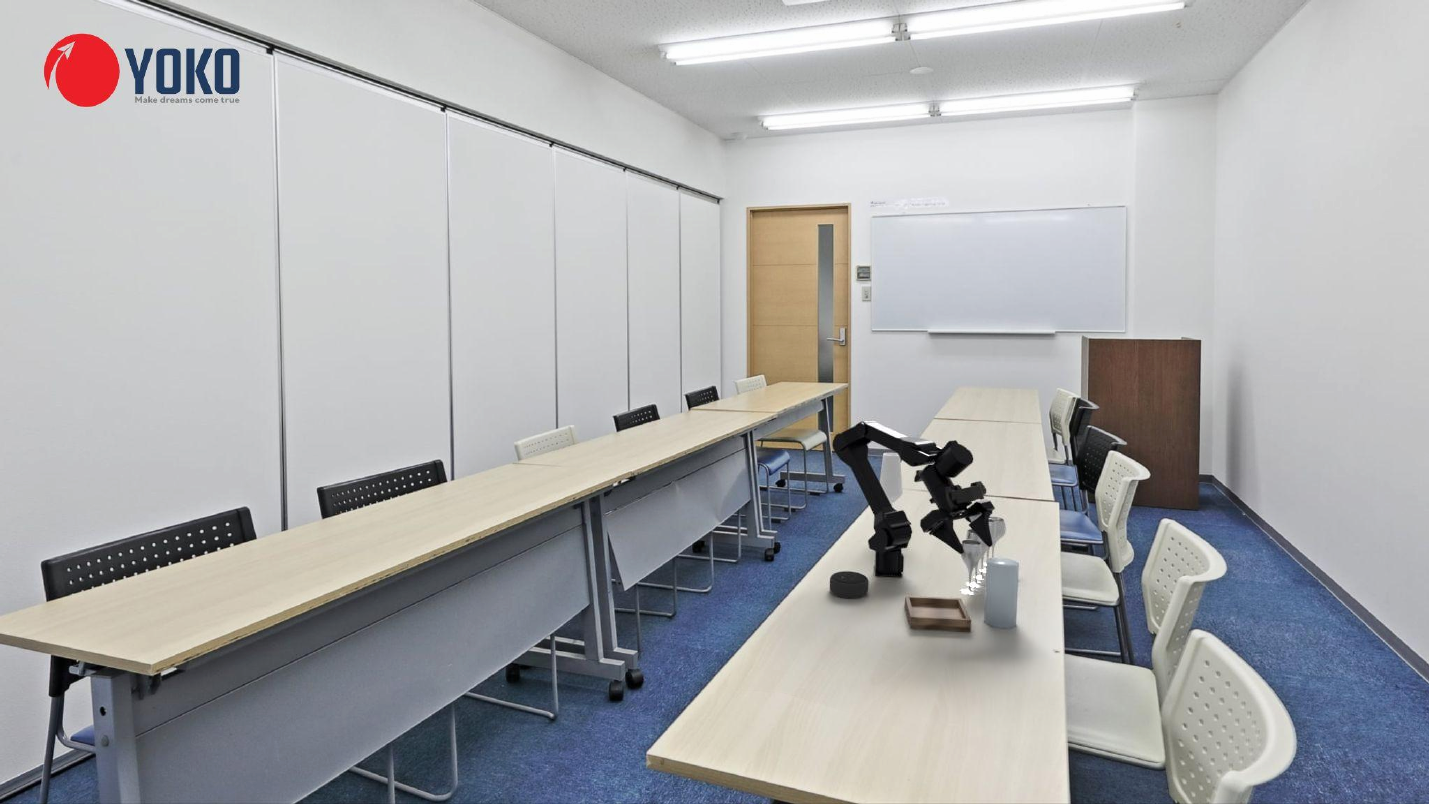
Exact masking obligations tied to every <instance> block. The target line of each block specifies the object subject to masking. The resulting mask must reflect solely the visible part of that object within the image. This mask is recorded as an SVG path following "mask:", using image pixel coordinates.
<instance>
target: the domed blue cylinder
mask: <svg viewBox="0 0 1429 804" xmlns="http://www.w3.org/2000/svg"><path fill="white" fill-rule="evenodd" d="M985 562H986V566H985V568H986V573H985V575H986V580H984V581H985V587H984V607H983V608H984V609H983V623H984V624H986V625H989V627H990V626H991V627H993V628H996V629H997V628H998V629H1011V628H1015V627H1016V626H1017V616H1018V615H1017V613H1018V595H1019V593H1018V592H1019V572H1020V571H1019V570H1020V563H1019V562H1018V561H1016V560H1013V559H1010V558H1008V557H1005V558H1004V557H993V558H992V557H989V558H988V559H987V558H986V561H985Z"/></svg>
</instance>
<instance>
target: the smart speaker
mask: <svg viewBox="0 0 1429 804" xmlns="http://www.w3.org/2000/svg"><path fill="white" fill-rule="evenodd" d="M869 585H870V584H869V578H868V577H867V576H866V575H865V574H863V573H860V572H857V571H850V570H849V571H848V570H847V571H846V570H843V571H838V572H834V573H833V574H831V575H830V577H829V590H830V593H831V594H833V595H834V596H836V597H838V598H839V597H840V598H843V599H860V598H862V597H865V596H866V595H867V594H868V593H869Z"/></svg>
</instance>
